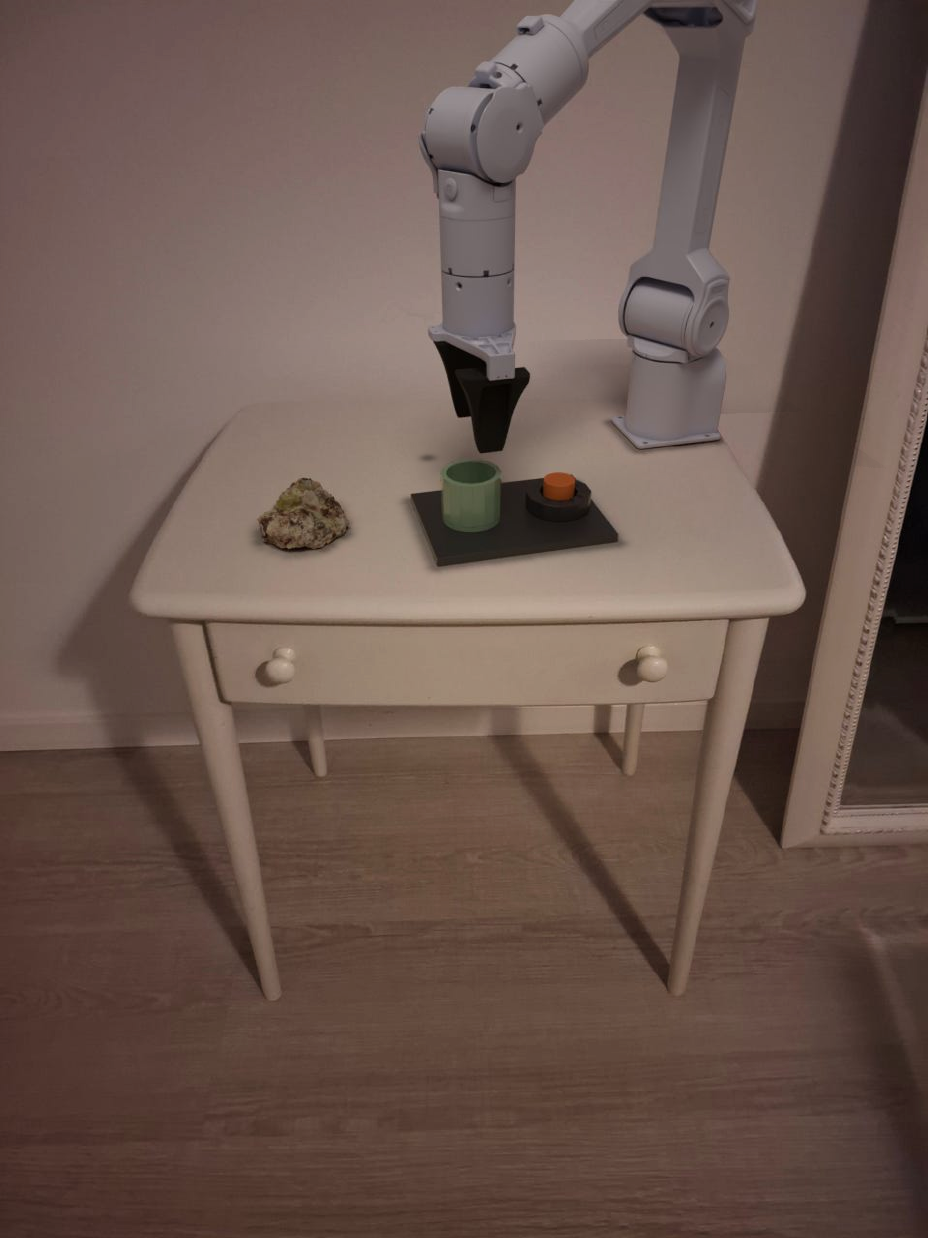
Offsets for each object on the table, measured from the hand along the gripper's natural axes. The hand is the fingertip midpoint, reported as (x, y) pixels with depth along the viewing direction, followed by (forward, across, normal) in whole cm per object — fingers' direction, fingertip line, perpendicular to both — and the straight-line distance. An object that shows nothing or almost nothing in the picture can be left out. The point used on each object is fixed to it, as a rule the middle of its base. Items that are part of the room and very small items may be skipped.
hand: (478, 432), depth 75 cm
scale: (+8, +2, +2) cm, 9 cm away
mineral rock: (+8, -2, -16) cm, 18 cm away
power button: (+6, +2, +7) cm, 9 cm away
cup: (+7, +2, -1) cm, 7 cm away
